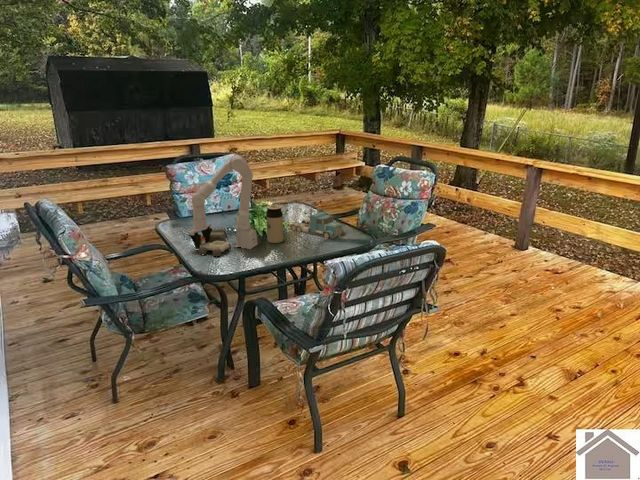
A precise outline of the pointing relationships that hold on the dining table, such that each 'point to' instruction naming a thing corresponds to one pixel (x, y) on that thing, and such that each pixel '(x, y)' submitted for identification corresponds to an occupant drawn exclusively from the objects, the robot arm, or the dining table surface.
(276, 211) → the travel mug
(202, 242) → the canister with orange lid
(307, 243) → the dining table surface
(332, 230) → the truck
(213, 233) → the stone block
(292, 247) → the dining table surface
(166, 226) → the dining table surface
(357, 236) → the dining table surface
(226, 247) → the trolley
